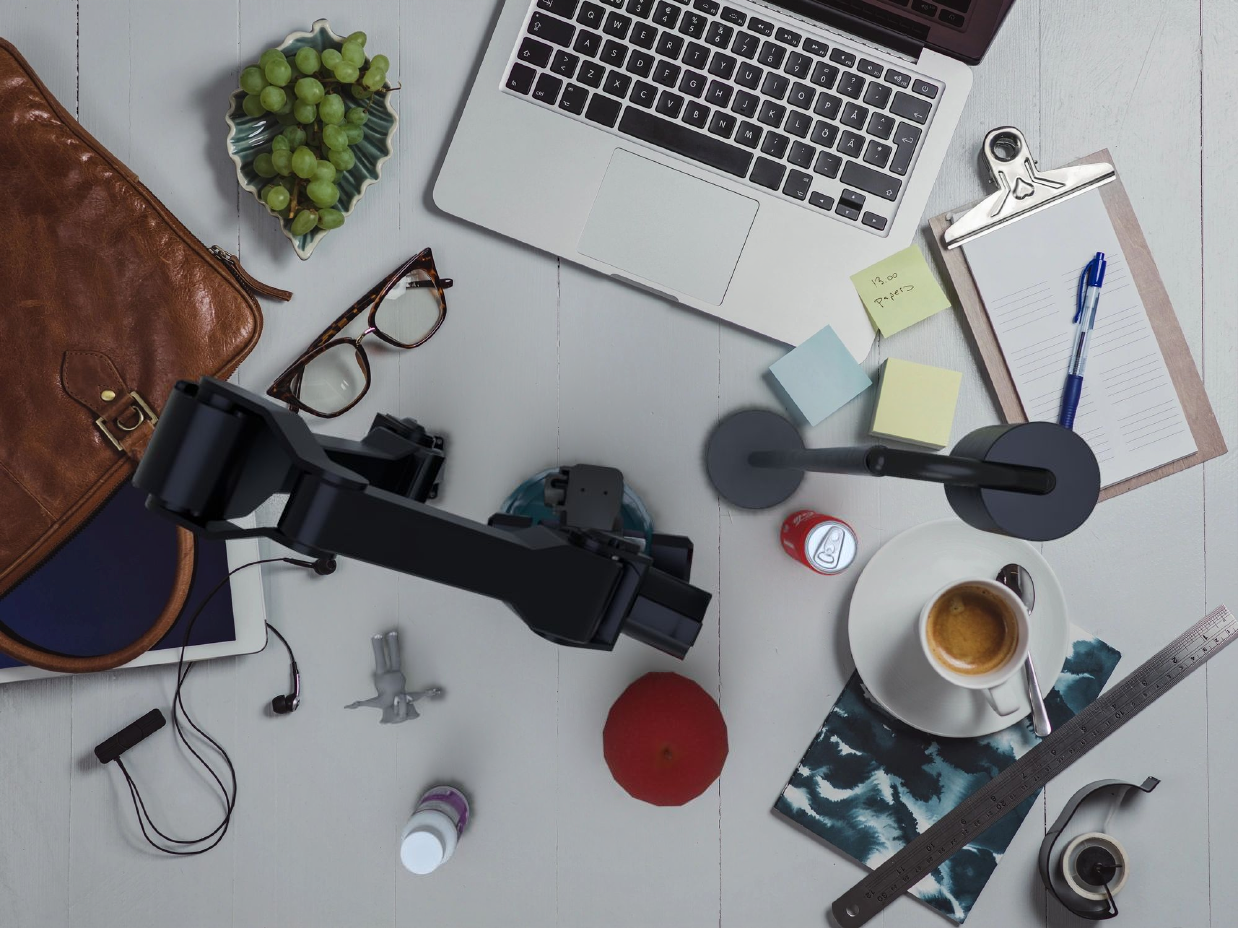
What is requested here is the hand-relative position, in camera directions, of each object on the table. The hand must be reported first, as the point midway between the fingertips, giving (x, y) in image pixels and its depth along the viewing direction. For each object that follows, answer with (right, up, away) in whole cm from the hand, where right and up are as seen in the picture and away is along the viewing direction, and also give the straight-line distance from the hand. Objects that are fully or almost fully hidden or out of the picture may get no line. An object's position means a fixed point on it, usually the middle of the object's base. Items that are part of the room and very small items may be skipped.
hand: (593, 548), depth 84 cm
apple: (+7, -17, +2) cm, 19 cm away
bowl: (-2, 0, +2) cm, 2 cm away
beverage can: (+22, +1, +1) cm, 22 cm away
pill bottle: (-15, -27, +2) cm, 31 cm away
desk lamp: (+19, +9, +1) cm, 21 cm away
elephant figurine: (-21, -14, +2) cm, 25 cm away
